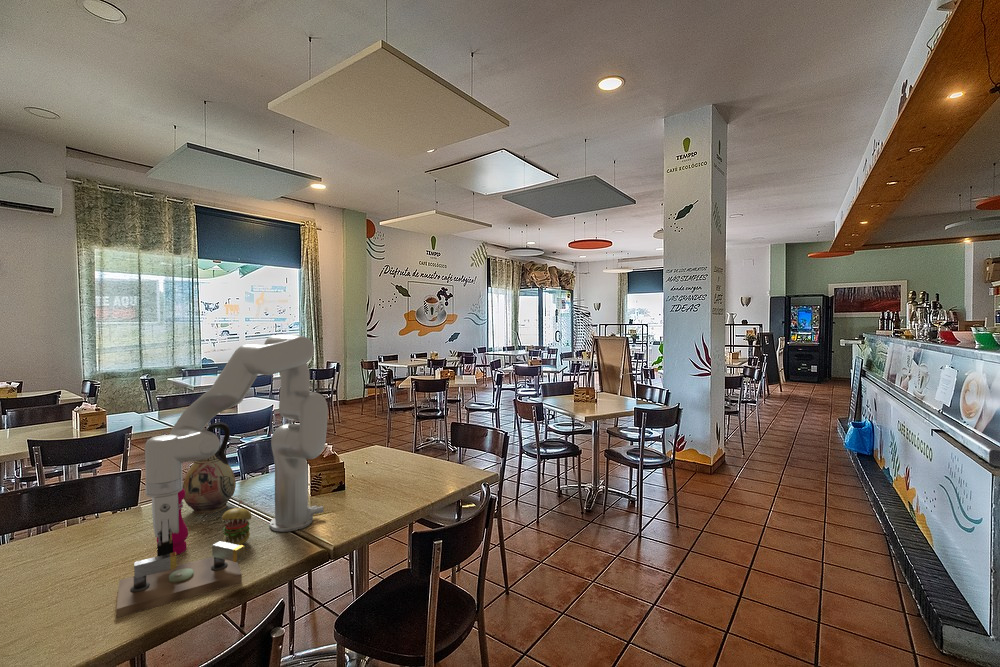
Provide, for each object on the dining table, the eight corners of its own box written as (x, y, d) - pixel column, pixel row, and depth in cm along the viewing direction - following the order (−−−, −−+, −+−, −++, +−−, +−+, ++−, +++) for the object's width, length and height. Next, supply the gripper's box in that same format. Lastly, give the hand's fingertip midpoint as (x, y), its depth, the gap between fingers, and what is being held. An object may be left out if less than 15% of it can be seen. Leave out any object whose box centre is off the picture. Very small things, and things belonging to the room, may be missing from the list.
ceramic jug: (176, 522, 150) (175, 428, 149) (188, 504, 164) (188, 418, 163) (237, 514, 156) (236, 424, 155) (244, 498, 170) (243, 415, 170)
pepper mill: (172, 559, 127) (171, 486, 126) (150, 556, 129) (149, 484, 128) (194, 546, 134) (193, 477, 134) (173, 544, 136) (172, 475, 135)
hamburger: (216, 550, 132) (216, 508, 132) (227, 538, 139) (227, 498, 139) (246, 548, 133) (246, 506, 133) (255, 537, 140) (255, 497, 140)
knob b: (133, 589, 109) (133, 566, 108) (133, 585, 111) (133, 561, 110) (176, 578, 114) (176, 555, 113) (176, 574, 115) (175, 551, 115)
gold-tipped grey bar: (211, 566, 119) (211, 544, 119) (219, 561, 121) (219, 540, 121) (236, 572, 116) (236, 550, 116) (244, 567, 119) (244, 545, 119)
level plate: (233, 558, 128) (233, 547, 128) (241, 582, 117) (241, 570, 117) (119, 588, 114) (119, 575, 113) (116, 618, 102) (116, 604, 102)
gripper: (184, 491, 113) (185, 567, 114) (181, 474, 126) (181, 543, 126) (145, 498, 109) (146, 576, 110) (145, 480, 121) (146, 551, 122)
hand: (165, 558), depth 118 cm, fingers closed
